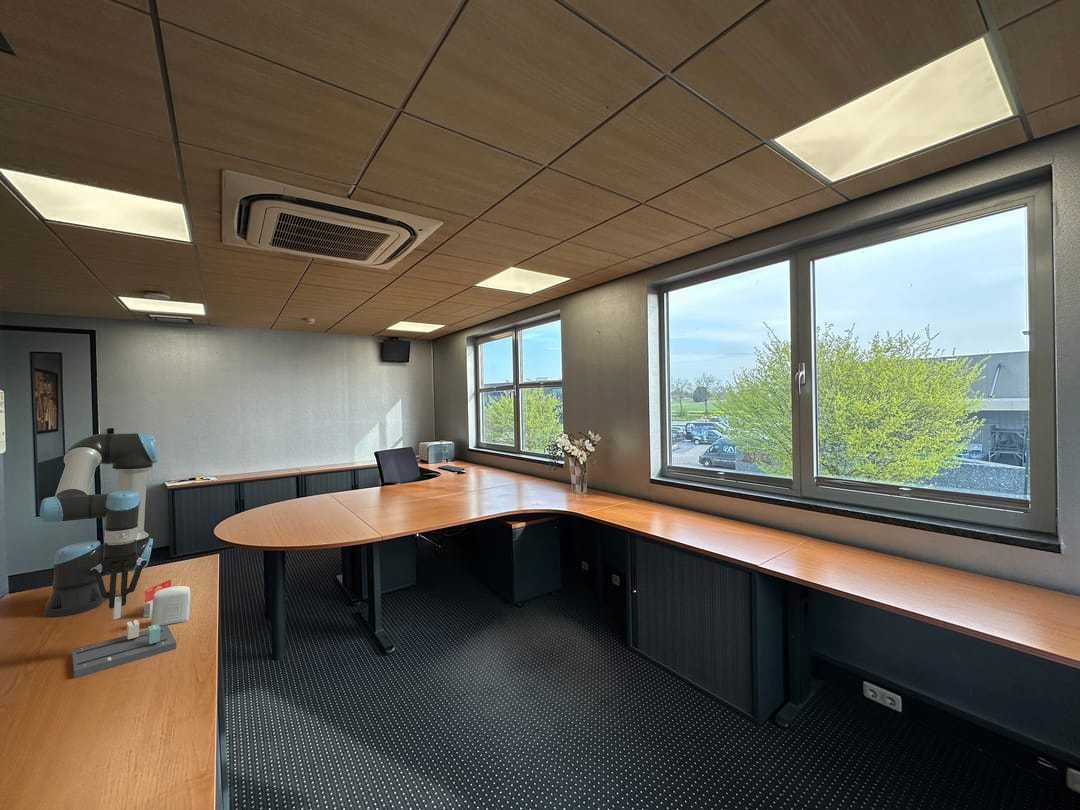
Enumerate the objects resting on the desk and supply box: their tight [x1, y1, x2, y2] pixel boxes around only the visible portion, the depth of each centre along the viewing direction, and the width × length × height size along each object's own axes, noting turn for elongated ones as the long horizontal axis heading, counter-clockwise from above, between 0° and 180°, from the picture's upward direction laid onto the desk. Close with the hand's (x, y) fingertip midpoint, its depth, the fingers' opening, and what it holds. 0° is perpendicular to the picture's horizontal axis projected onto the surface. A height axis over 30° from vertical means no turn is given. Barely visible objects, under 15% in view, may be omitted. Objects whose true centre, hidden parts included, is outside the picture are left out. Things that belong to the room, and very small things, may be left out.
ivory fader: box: [125, 619, 140, 639], centre depth 139 cm, size 4×2×5 cm, turn 49°
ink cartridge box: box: [142, 578, 172, 618], centre depth 163 cm, size 2×11×10 cm, turn 179°
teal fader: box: [147, 624, 161, 644], centre depth 137 cm, size 4×2×5 cm, turn 49°
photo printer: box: [150, 585, 192, 627], centre depth 154 cm, size 10×4×12 cm, turn 123°
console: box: [71, 624, 177, 679], centre depth 135 cm, size 16×22×2 cm
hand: (116, 617), depth 137 cm, fingers closed
